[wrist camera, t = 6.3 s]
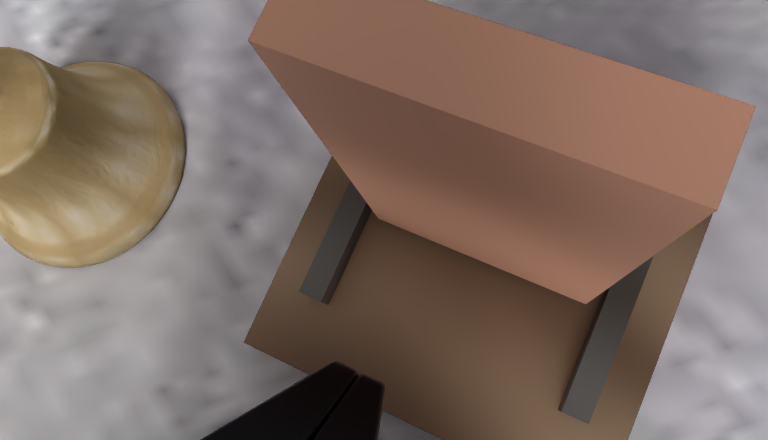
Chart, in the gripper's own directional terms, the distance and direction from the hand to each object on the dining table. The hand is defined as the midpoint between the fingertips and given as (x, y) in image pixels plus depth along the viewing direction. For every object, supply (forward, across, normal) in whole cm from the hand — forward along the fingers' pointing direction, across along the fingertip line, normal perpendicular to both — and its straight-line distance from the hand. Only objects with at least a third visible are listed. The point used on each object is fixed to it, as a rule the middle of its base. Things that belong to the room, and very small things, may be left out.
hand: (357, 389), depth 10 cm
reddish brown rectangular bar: (+11, 0, +4) cm, 12 cm away
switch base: (+11, 0, +6) cm, 13 cm away
